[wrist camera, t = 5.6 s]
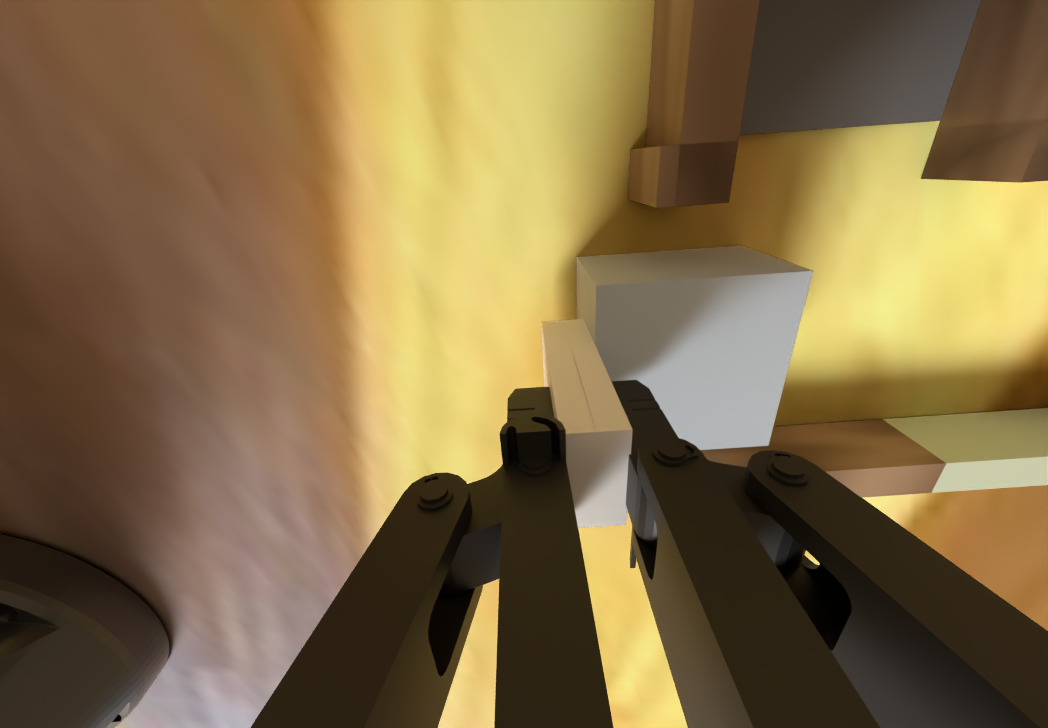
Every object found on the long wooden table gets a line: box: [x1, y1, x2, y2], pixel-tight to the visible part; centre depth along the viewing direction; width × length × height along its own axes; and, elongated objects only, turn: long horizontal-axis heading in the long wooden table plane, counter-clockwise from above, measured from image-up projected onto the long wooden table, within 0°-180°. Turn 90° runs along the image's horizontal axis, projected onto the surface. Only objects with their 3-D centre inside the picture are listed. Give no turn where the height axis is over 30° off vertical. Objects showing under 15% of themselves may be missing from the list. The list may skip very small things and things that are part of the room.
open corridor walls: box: [628, 0, 1048, 497], centre depth 13 cm, size 12×20×3 cm, turn 3°
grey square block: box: [576, 245, 813, 450], centre depth 14 cm, size 6×6×4 cm
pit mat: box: [739, 0, 981, 135], centre depth 12 cm, size 7×5×1 cm, turn 93°
